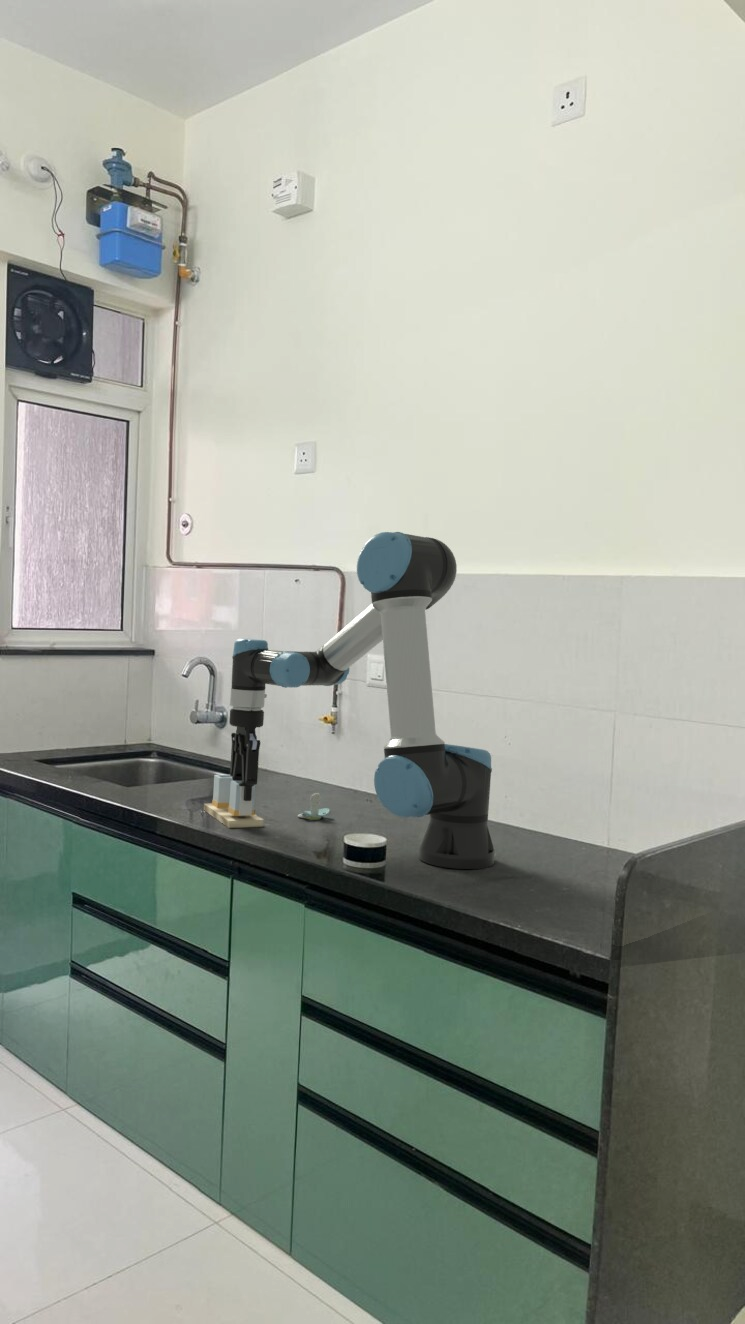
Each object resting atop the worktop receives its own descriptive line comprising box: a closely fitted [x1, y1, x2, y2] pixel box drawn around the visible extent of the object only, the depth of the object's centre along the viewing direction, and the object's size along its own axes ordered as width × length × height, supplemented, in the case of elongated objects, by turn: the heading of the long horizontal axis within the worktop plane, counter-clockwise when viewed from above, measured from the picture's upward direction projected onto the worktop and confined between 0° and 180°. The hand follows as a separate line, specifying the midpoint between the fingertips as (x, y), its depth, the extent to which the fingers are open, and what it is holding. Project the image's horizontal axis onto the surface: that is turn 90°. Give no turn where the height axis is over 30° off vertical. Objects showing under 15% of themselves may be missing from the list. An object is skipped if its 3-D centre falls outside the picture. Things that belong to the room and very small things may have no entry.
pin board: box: [203, 802, 265, 829], centre depth 231 cm, size 20×8×6 cm, turn 25°
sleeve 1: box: [211, 774, 234, 808], centre depth 237 cm, size 5×5×7 cm
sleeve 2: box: [228, 781, 257, 816], centre depth 225 cm, size 5×5×7 cm
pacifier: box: [297, 792, 330, 821], centre depth 237 cm, size 7×6×6 cm
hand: (241, 812), depth 225 cm, fingers closed on sleeve 2, 5 cm apart
